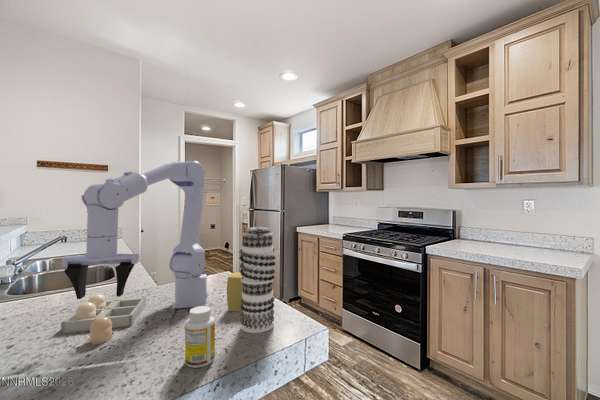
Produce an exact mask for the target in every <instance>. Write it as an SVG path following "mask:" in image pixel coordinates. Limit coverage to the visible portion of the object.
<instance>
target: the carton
mask: <svg viewBox="0 0 600 400" xmlns="http://www.w3.org/2000/svg"><path fill="white" fill-rule="evenodd" d="M146 306H147V298H146V297H139V298H138V297H137V298H127V299H118V300H117V299H115V300H113V299H112V300H106V308H105V309H96V317H95V318H91V319H80V320H76V311H75V312H73V313H72V314H70V315H69V316H68V317H66V318H65V319H64V320H62V321H61V322H60V333H61V334H68V333H77V332H86V331H90V326H91V324H92V322H93V321H94V320H95V319H97V318H99V317H103V316H104V317H108V318H110V319H111V321H112V329H113V328H114V329H115V328H124V327H132V326H133V325H134V323H135V322H136V320H137V319H138V318H139V316H140V315H141V313H142V312H143V311H144V309H145V308H146Z"/></svg>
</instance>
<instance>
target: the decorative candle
mask: <svg viewBox="0 0 600 400" xmlns="http://www.w3.org/2000/svg"><path fill="white" fill-rule="evenodd" d="M241 234H242V245H241V249H240V250H239V254H240V256H239V260H240V262H241V263H240V265H239V267H240V271H239V272H240V273H241V275H242V277H241V281H242V282H243V291H242V299H241V303H242V305H241V309H242V311H240V317H241V318H240V323H241V324H240V328H241V330H242V331H243V332H246V333H251V334H260V333H265V332H268V331H271V329H273V328H274V327H275V325H274V324H275V322H274V321H275V320H274V319H275V316H274V315H275V310H274V306H275V303H274V301H275V297H274V289H273V281H275V276H274V275H273V274H275V272H276V270H275V269H273V267H274V266H276V262H275V261H274V260H275V259H276V256H275V255H273V252H274V251H275V248H274V244H273V235H275V234H274V233H273V232H272V231H271V229H270V228H269V227H265V226H263V227H262V226H253V227H252V226H251V227H247V228H246V229H245V231H244V233H241Z"/></svg>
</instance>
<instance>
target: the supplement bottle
mask: <svg viewBox="0 0 600 400" xmlns="http://www.w3.org/2000/svg"><path fill="white" fill-rule="evenodd" d="M211 314H212V312H211V307H210V306H207V305H205V306H198V307H191V308H190V310H189V315H188V317H189V318H188V319H187V320H186V321H185V323H184V330H185V331H184V349H185V350H184V353H185V355H184V361H185V365H186V366H188V367H189V368H194V369H197V368H203V367H206V366H208V365H210V364H211V363H212V362H213V361H214V359H215V356H216V354H215V353H216V351H215V349H216V344H215V343H216V341H215V340H216V336H215V335H216V333H215V329H216V328H215V326H216V325H215V324H216V322H215V321H216V320H215V317H214V316H212V315H211Z"/></svg>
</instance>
